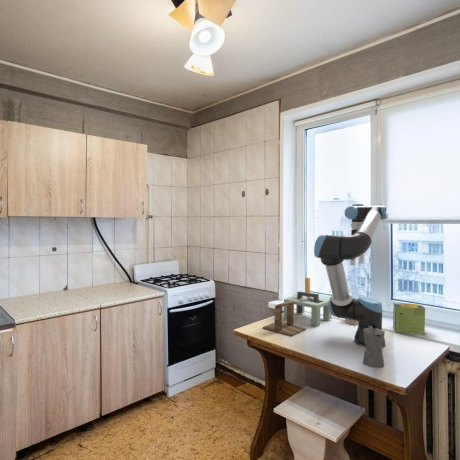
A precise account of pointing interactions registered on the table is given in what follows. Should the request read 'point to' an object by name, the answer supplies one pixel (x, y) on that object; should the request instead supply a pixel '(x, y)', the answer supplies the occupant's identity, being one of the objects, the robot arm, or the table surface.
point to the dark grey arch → (306, 294)
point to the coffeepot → (373, 346)
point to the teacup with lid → (351, 321)
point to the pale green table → (314, 308)
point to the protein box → (409, 318)
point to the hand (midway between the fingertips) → (357, 264)
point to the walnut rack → (282, 327)
